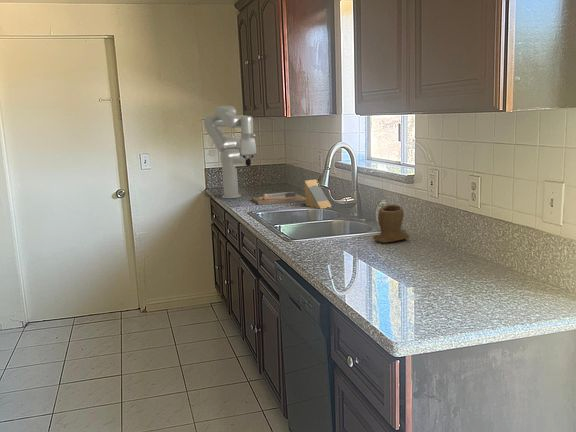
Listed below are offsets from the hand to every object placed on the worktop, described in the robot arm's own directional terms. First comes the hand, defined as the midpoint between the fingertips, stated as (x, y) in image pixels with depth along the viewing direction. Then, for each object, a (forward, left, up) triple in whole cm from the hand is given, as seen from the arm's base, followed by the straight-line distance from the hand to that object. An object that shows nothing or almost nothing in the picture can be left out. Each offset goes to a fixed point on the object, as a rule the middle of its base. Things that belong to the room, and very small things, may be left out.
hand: (248, 165), depth 360 cm
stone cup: (+142, +29, -23) cm, 146 cm away
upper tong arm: (+8, +17, -19) cm, 27 cm away
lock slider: (+11, +8, -20) cm, 24 cm away
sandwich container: (+43, +31, -23) cm, 58 cm away
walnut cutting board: (+8, +16, -22) cm, 29 cm away
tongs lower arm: (+8, +16, -21) cm, 27 cm away
